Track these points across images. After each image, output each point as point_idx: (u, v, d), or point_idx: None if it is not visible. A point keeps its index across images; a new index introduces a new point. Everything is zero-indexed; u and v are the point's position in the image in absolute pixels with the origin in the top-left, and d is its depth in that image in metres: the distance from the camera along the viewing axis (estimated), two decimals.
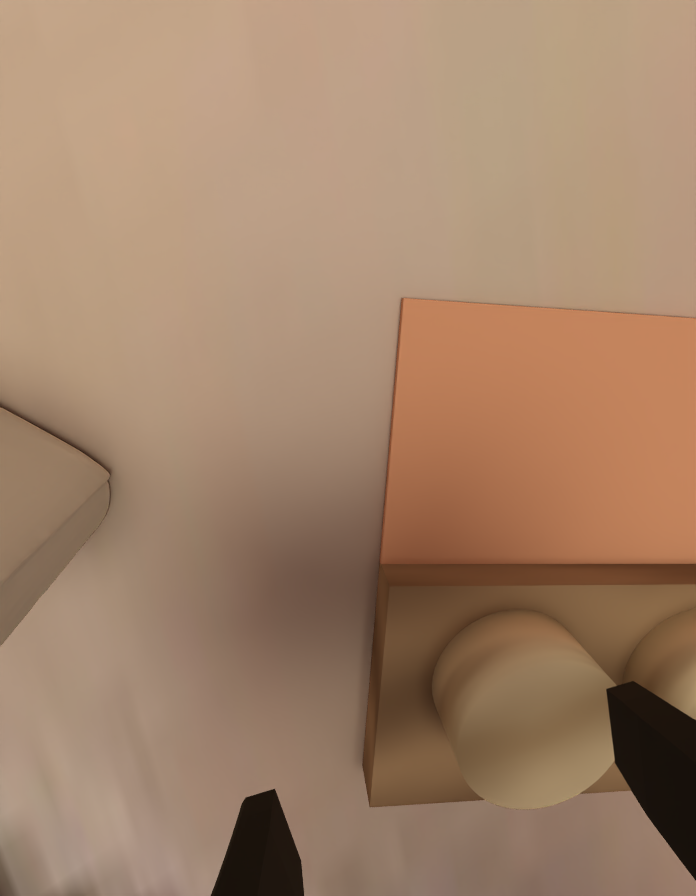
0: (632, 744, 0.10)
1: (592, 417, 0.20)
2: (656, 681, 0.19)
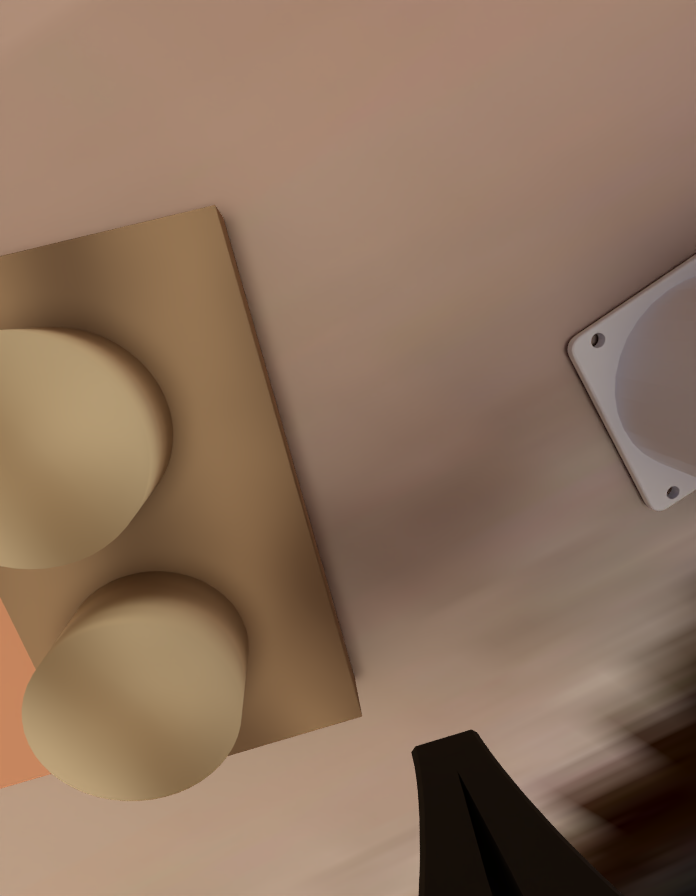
0: None
1: None
2: None
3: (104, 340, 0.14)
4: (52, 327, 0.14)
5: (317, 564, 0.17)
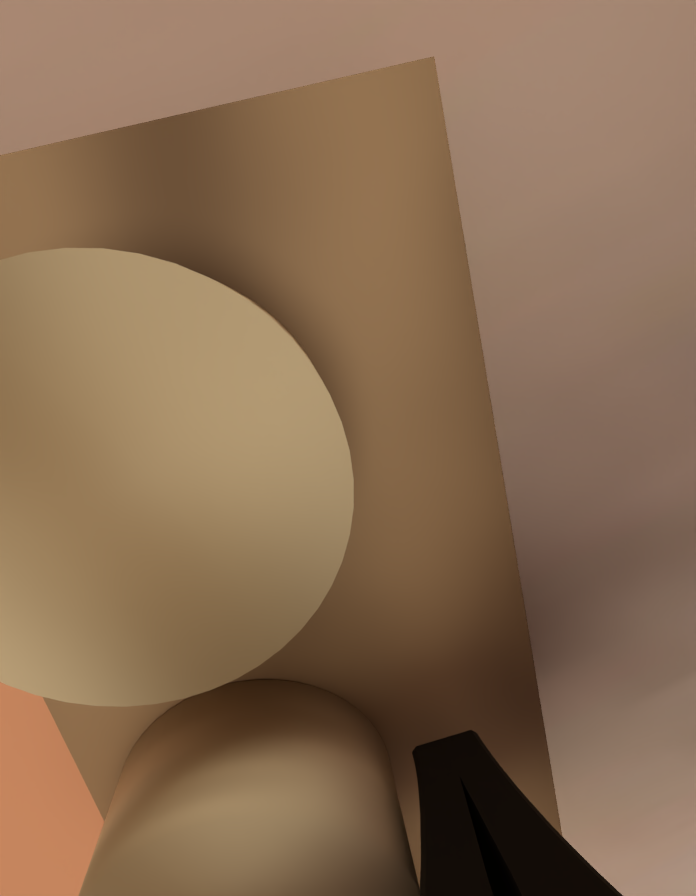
0: None
1: None
2: None
3: (237, 292, 0.08)
4: None
5: (529, 648, 0.11)
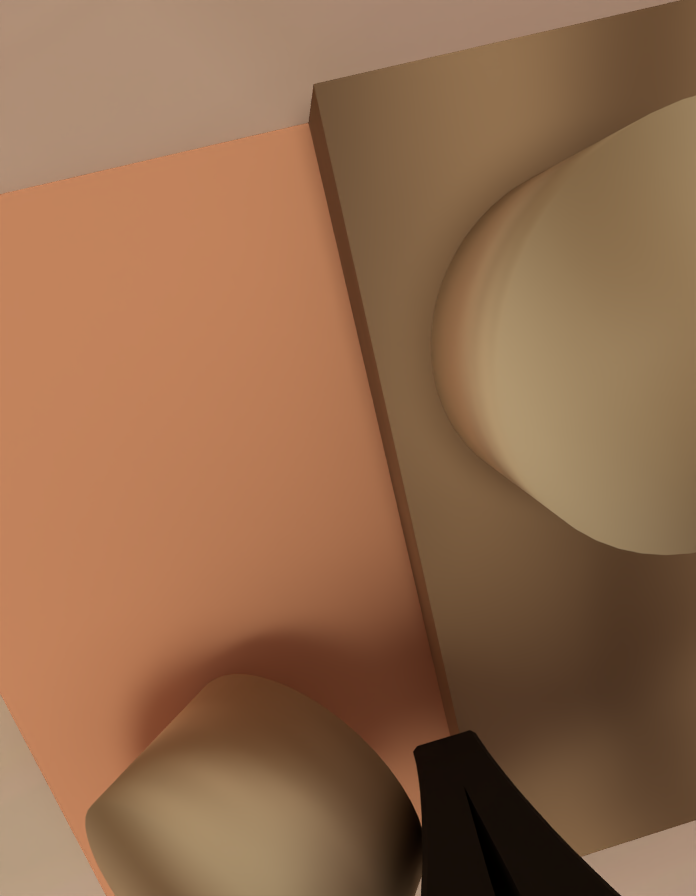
0: None
1: (169, 659, 0.12)
2: None
3: None
4: None
5: None
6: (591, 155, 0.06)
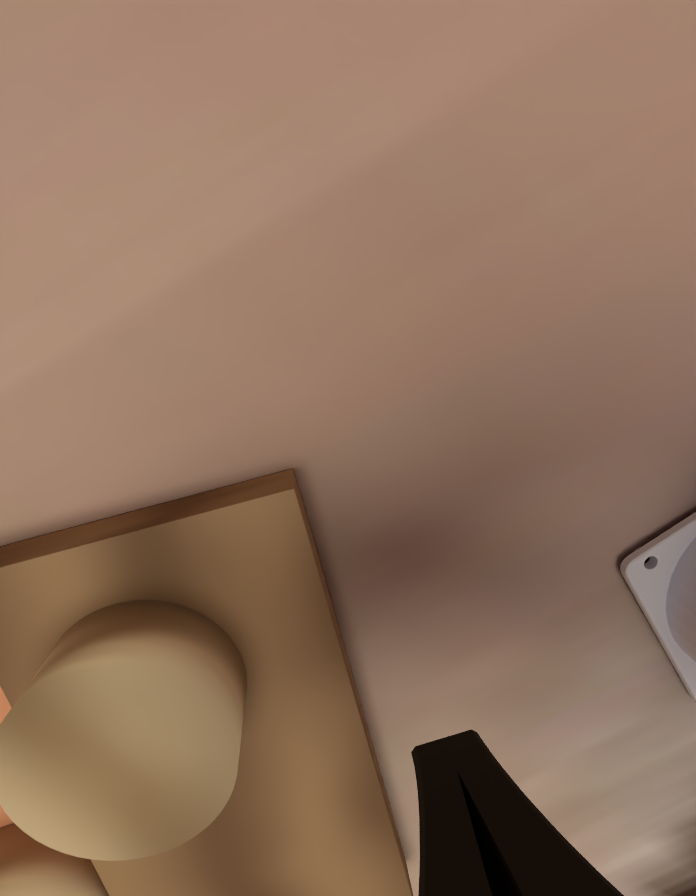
0: None
1: None
2: None
3: (185, 614, 0.15)
4: (137, 609, 0.15)
5: (379, 787, 0.18)
6: (19, 700, 0.12)
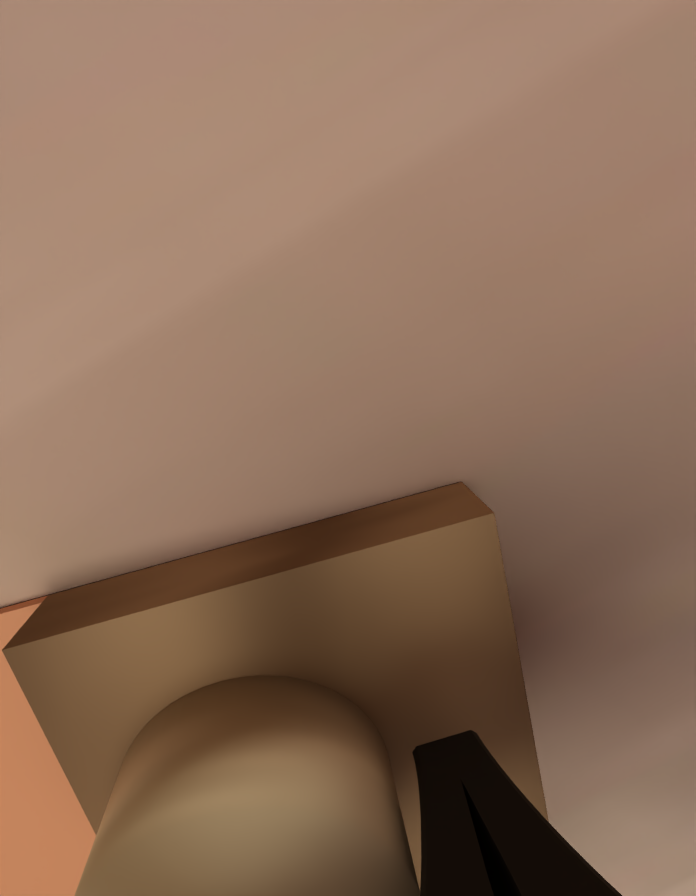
0: None
1: None
2: None
3: (319, 696, 0.11)
4: (255, 693, 0.10)
5: None
6: (106, 863, 0.08)
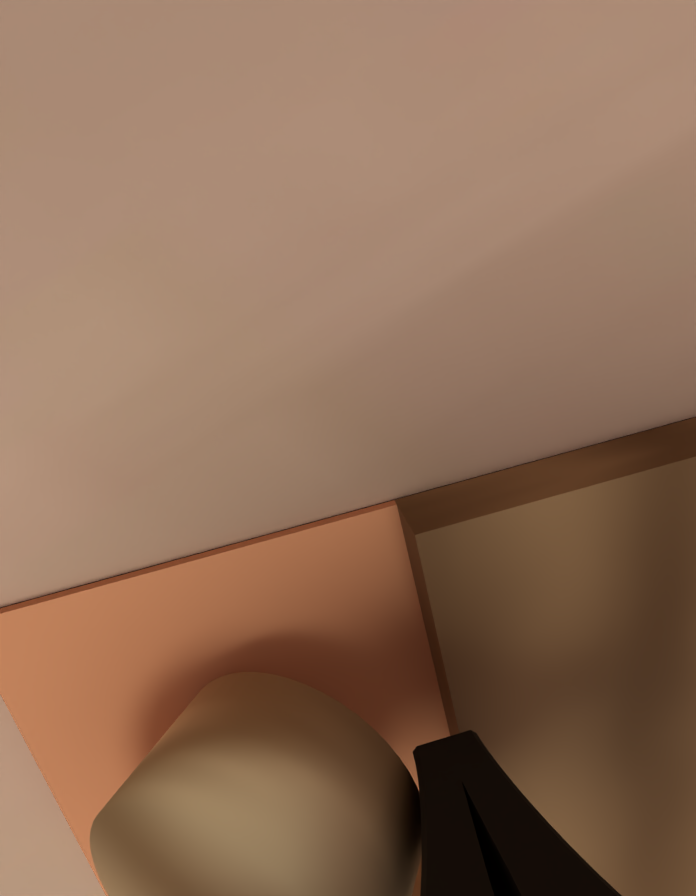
0: None
1: None
2: None
3: (337, 720, 0.10)
4: (274, 696, 0.10)
5: None
6: (107, 805, 0.09)
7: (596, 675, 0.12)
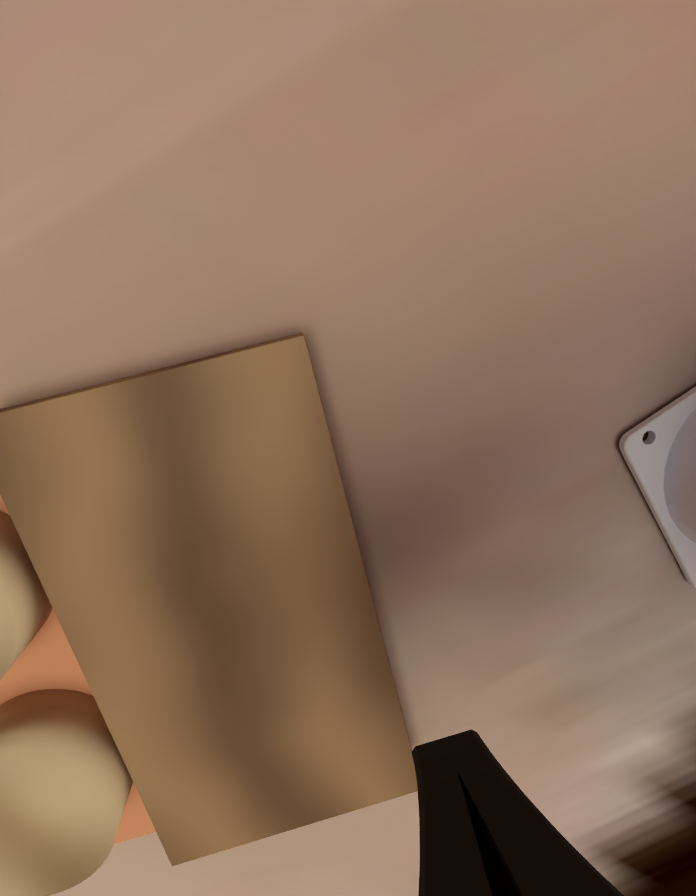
0: None
1: None
2: None
3: None
4: None
5: (385, 653, 0.18)
6: None
7: (138, 533, 0.16)
